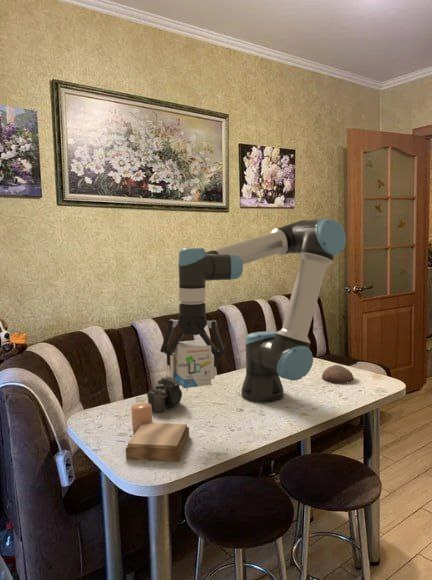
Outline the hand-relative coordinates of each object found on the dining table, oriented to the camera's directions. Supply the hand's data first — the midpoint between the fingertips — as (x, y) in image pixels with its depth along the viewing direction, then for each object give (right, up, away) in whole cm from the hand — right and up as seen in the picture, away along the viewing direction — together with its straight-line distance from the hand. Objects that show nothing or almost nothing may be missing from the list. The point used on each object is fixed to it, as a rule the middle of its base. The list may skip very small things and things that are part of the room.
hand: (192, 376), depth 127 cm
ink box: (0, -2, 0) cm, 2 cm away
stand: (-9, -18, -7) cm, 21 cm away
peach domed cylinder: (-15, -17, +5) cm, 23 cm away
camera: (-10, -15, +22) cm, 29 cm away
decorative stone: (+55, -11, +47) cm, 73 cm away
